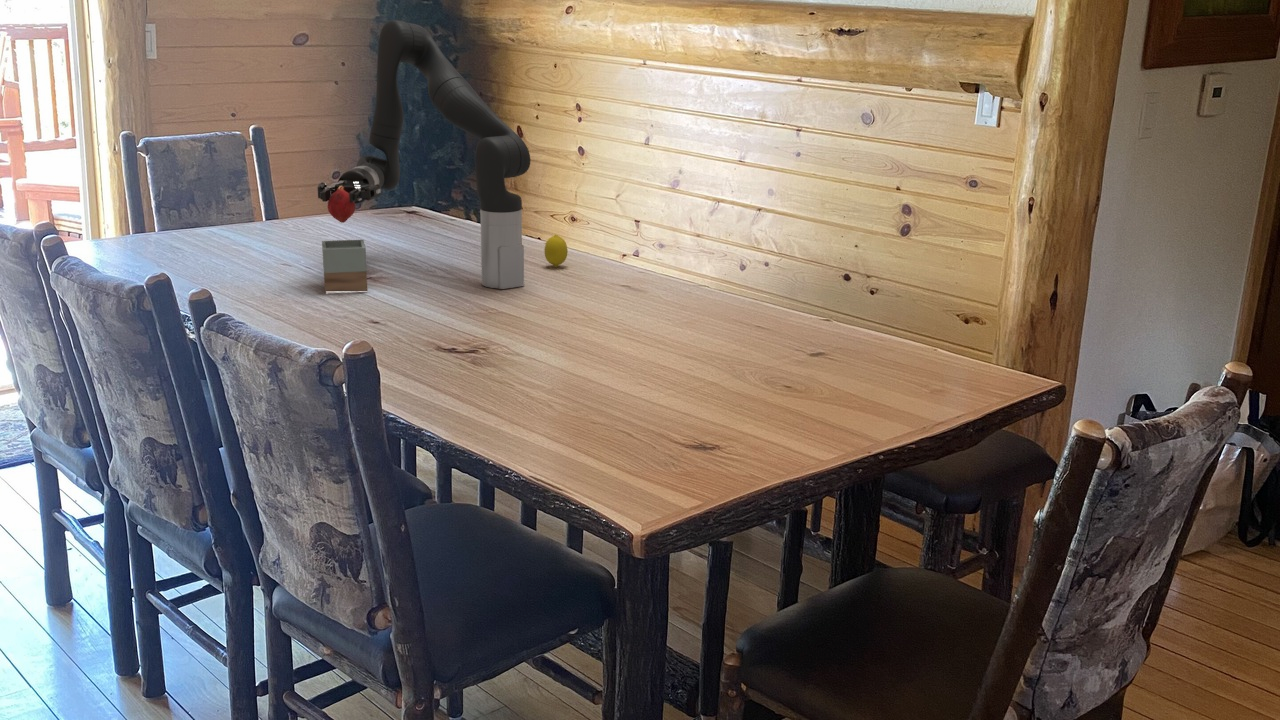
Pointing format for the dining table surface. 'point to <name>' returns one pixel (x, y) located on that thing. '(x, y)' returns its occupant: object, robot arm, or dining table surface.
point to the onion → (340, 205)
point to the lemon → (556, 250)
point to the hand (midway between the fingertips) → (337, 197)
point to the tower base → (346, 281)
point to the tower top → (344, 256)
